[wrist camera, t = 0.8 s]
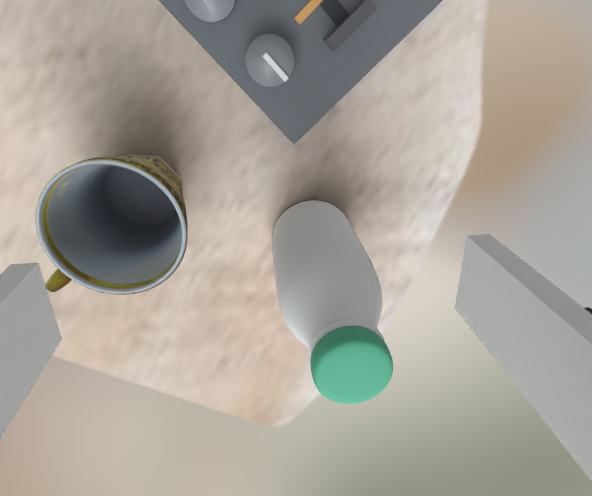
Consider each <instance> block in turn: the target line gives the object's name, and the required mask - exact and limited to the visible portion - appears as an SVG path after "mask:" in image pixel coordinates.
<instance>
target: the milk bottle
mask: <svg viewBox="0 0 592 496" xmlns="http://www.w3.org/2000/svg"><path fill="white" fill-rule="evenodd" d="M272 249H273V260H274V270H275V279H276V288H277V295H278V300H279V306H280V309H281V312H282V315H283V318H284V320H285V322H286V324H287V325H288V327H289V329H290V330H291V331H292V333H293V334H294V335H295V336H296V337H297V338H298V339H299V340H300V341H301V342H302V343H303V344H305V345H306V346H307V347H308V348H309V360H310V364H311V373H312V376H313V380H314V383H315V385H316V387H317V389H318V390H319V391H320V393H321V394H322V395H323V396H325V397H326V398H328V399H330V400H332V401H334V402H338V403H343V404H354V403H360V402H364V401H366V400H369V399H371V398H373V397H375V396H376V395H378V394H379V393H380V392H381V391H382V390H383V389H384V388H385V387H386V386H387V385H388V383H389V381H390V379H391V376H392V372H393V362H392V357H391V355H390V352H389V349H388V347H387V345H386V343H385V342H384V338H383V336H382V334H381V333H380V332H379V330H378V329H377V325H378V322H379V319H380V315H381V310H382V291H381V286H380V283H379V279H378V276H377V274H376V271H375V269H374V267H373V265H372V263H371V261H370V259H369V257H368V255H367V253H366V251H365V249H364V248H363V246H362V244H361V242H360V240H359V239H358V237H357V235H356V233H355V231H354V229H353V228H352V226H351V224H350V222H349V221H348V219H347V218H346V216H345V215H344V214H343V213H342V211H340V210H339V209H338V208H337V207H335V206H334V205H332V204H330V203H327V202H323V201H316V200H312V201H304V202H301V203H298V204H296V205H293V206H292V207H290V208H289V209H287V210H286V211H285V212H284V213H283V214H282V215H281V216H280V217H279V219H278V220H277V222H276V224H275V227H274V230H273V234H272Z"/></svg>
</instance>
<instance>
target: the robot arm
mask: <svg viewBox="0 0 592 496" xmlns="http://www.w3.org/2000/svg"><path fill="white" fill-rule="evenodd" d="M455 309H456V310H457V311H458V313H459V314H460V315H461V317H462V318H463V319H464V320H465V322H466V323H467V324H468V325H469V327H470V328H471V329H472V330H473V332H474V333H475V334H476V335H477V337H478V338H479V339H480V341H481V342H482V343H483V344H484V346H485V347H486V348H487V349H488V351H489V352H490V353H491V354H492V356H493V357H494V358H495V359H496V361H497V362H498V363H499V365H500V366H501V367H502V368H503V370H504V371H505V372H506V373H507V375H508V376H509V377H510V378H511V380H512V381H513V382H514V384H515V385H516V386H517V387H518V388H519V390H520V391H521V392H522V394H523V395H524V396H525V397H526V399H527V400H528V401H529V402H530V404H531V405H532V406H533V408H534V409H535V410H536V411H537V413H538V414H539V415H540V416H541V418H542V419H543V420H544V421H545V423H546V424H547V425H548V426H549V428H550V429H551V430H552V432H553V433H554V434H555V435H556V436H557V438H558V439H559V440H560V442H561V443H562V444H563V445H564V447H565V448H566V449H567V451H568V452H569V453H570V454H571V456H572V457H573V458H574V459H575V461H576V462H577V463H578V464H579V466H580V467H581V468H582V469H583V471H584V472H585V473H586V475H587V476H588V477H589V478H590V479H591V481H592V309H591V308H583V307H582V306H581V305H579V304H578V303H577V302H575V301H574V300H573V299H571V298H570V297H569V296H568V295H566V294H565V293H564V292H563V291H561V290H560V289H559V288H557V287H556V286H555V285H554V284H552V283H551V282H550V281H549V280H547V279H546V278H545V277H544V276H542V275H541V274H540V273H538V272H537V271H536V270H535V269H533V268H532V267H531V266H529V265H528V264H527V263H526V262H524V261H523V260H522V259H520V258H519V257H518V256H517V255H515V254H514V253H513V252H512V251H510V250H509V249H508V248H506V247H505V246H504V245H503V244H501V243H500V242H498V240H496V239H495V238H494V237H492V236H491V235H490V234H486V235H470V236H467V237H466V243H465V250H464V256H463V262H462V268H461V274H460V280H459V286H458V293H457V298H456V304H455ZM61 340H62V338H61V335H60V331H59V328H58V325H57V322H56V318H55V315H54V312H53V309H52V305H51V302H50V299H49V296H48V292H47V289H46V286H45V283H44V280H43V276H42V273H41V270H40V267H39V263H26V264H11V265H10V266H9V267H8V268H7V269H6V270H5V271H4V272H3V273H1V274H0V439H1V437H2V436H3V434H4V432H5V431H6V429H7V427H8V426H9V424H10V423H11V421H12V419H13V418H14V416H15V414H16V413H17V411H18V409H19V408H20V406H21V405H22V403H23V401H24V400H25V398H26V396H27V395H28V393H29V392H30V390H31V388H32V387H33V385H34V383H35V382H36V380H37V378H38V377H39V375H40V373H41V372H42V370H43V369H44V367H45V366H46V364H47V362H48V360H49V359H50V357H51V356H52V354H53V353H54V351H55V349H56V348H57V346H58V344H59V343H60V341H61Z"/></svg>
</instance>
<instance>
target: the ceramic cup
mask: <svg viewBox="0 0 592 496" xmlns="http://www.w3.org/2000/svg"><path fill="white" fill-rule="evenodd" d="M36 229H37V233H38V237H39V240H40V242H41V245H42V247H43V249H44V251H45V252H46V254H47V256H48V257H49V258H50V260H51V261H52V262H53V263H54V265H55V266H56V267H57V268H58V269H57V270H56V271H55V272H54V273H53V275H52V276H51V277H50V278H49V280H48V281H47V283H46V285H45V286H46V288H47V289H48V290H49V291H51V292H55V291H57V290H59V289H61V288H63V287H64V286H66V285H67V284H68V283H69V282H70V281H71V280H73V281H75V282H77V283H79V284H80V285H83V286H85V287H87V288H89V289H92V290H95V291H99V292H102V293H109V294H119V295H120V294H134V293H139V292H143V291H146V290H149V289H151V288H154V287H156V286H157V285H159V284H161V283H162V282H164V281H165V280H166V279H168V278H169V277H170V276H171V275H172V274H173V273H174V271H175V270H176V269H177V267H178V266H179V264H180V263H181V261H182V259H183V256H184V254H185V250H186V246H187V216H186V208H185V203H184V199H183V196H182V180H181V178H180V176H179V175H178V174H177V173H176V172H175V171H174V170H173V169H172V168H171V167H170V166H169V165H168V164H167V163H166V162H165V161H164V160H163V159H162V158H160V157H159V156H149V155H134V154H126V155H120V156H113V157H99V158H92V159H88V160H84V161H81V162H79V163H76V164H73V165H71V166H69V167H67V168H65V169H63V170H62V171H60V172H59V173H58V174H56V175H55V176H54V177H53V178H52V179H51V180H50V181H49V182H48V184H47V185H46V186H45V188H44V189H43V191H42V193H41V195H40V197H39V200H38V204H37V209H36Z"/></svg>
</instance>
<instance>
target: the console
mask: <svg viewBox="0 0 592 496" xmlns="http://www.w3.org/2000/svg"><path fill="white" fill-rule="evenodd" d="M159 1H160V2H161V3H162V4H163V5H164V7H165V8H166V9H167V10H168V11H169V12H170V13H171V14H172V15H173V16H174V17H175V18H176V19H177V20H178V21H179V22H180V24H181V25H182V26H183V27H184V28H185V29H186V30H187V31H188V32H189V33H190V34H191V35H192V36H193V37H194V38H195V39H196V41H197V42H198V43H199V44H200V45H201V46H202V47H203V48H204V49H205V50H206V51H207V52H208V53H209V54H210V55H211V56H212V58H213V59H214V60H215V61H216V62H217V63H218V64H219V65H220V66H221V67H222V68H223V69H224V70H225V71H226V72H227V73H228V75H229V76H230V77H231V78H232V79H233V80H234V81H235V82H236V83H237V84H238V85H239V86H240V87H241V88H242V89H243V90H244V91H245V93H246V94H247V95H248V96H249V97H250V98H251V99H252V100H253V101H254V102H255V103H256V104H257V105H258V106H259V107H260V108H261V110H262V111H263V112H264V113H265V114H266V115H267V116H268V117H269V118H270V119H271V120H272V121H273V122H274V123H275V124H276V125H277V127H278V128H279V129H280V130H281V131H282V132H283V133H284V134H285V135H286V136H287V137H288V138H289V139H290V140H291V141H292V142H293V144H295V143H296V142H297V141H298V140H299V139H300V138H301V137H302V136H303V135H304V134H305V133H306V132H307V131H308V130H309V129H310V128H311V127H312V126H313V125H314V124H316V123H317V122H318V121H319V120H320V119H321V118H322V117H323V116H324V115H325V114H326V113H327V112H328V111H329V110H330V109H331V108H332V107H333V106H334V105H335V104H336V103H337V102H338V101H339V100H340V99H341V98H342V97H343V96H344V95H345V94H346V93H348V92H349V91H350V90H351V89H352V88H353V87H354V86H355V85H356V84H357V83H358V82H359V81H360V80H361V79H362V78H363V77H364V76H365V75H366V74H367V73H368V72H369V71H370V70H371V69H372V68H373V67H374V66H375V65H376V64H377V63H379V62H380V61H381V60H382V59H383V58H384V57H385V56H386V55H387V54H388V53H389V52H390V51H391V50H392V49H393V48H394V47H395V46H396V45H397V44H398V43H399V42H400V41H401V40H402V39H403V38H404V37H405V36H406V35H407V34H408V33H409V32H411V31H412V30H413V29H414V28H415V27H416V26H417V25H418V24H419V23H420V22H421V21H422V20H423V19H424V18H425V17H426V16H427V15H428V14H429V13H430V12H431V11H432V10H433V9H434V8H435V7H436V6H437V5H438V4H439V3H440V2H441V1H443V0H159Z"/></svg>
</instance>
